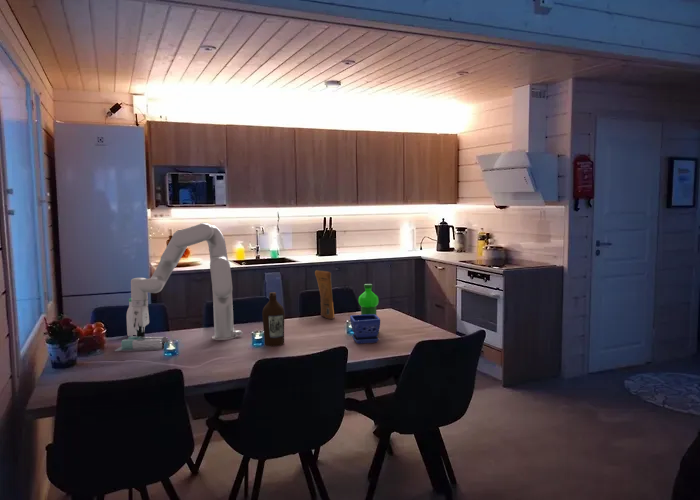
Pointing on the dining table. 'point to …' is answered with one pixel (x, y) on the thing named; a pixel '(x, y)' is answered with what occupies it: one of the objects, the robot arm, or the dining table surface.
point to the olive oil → (273, 322)
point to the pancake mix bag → (325, 293)
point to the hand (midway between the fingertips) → (141, 340)
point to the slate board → (141, 349)
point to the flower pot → (365, 328)
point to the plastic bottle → (368, 301)
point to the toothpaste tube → (145, 338)
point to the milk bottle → (130, 321)
